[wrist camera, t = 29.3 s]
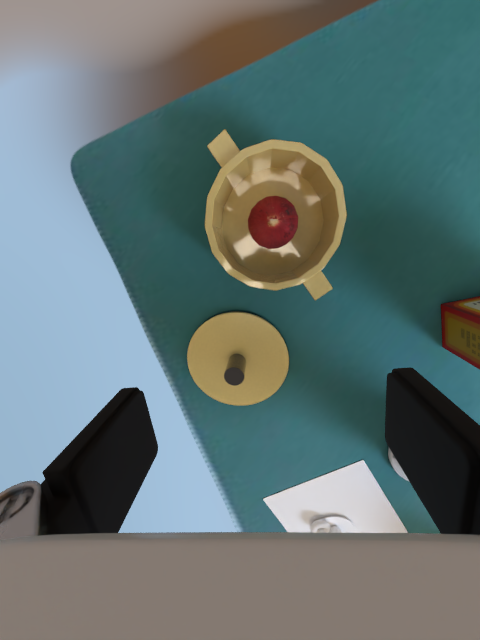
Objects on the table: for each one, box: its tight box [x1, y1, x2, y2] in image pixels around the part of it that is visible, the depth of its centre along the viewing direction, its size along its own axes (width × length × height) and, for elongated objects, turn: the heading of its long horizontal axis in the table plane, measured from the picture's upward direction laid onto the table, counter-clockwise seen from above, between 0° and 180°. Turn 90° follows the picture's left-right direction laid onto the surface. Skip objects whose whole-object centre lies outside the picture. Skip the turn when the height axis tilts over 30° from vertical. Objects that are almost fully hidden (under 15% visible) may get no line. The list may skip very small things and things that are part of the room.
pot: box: [205, 129, 347, 300], centre depth 31 cm, size 15×20×8 cm
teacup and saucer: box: [309, 515, 357, 533], centre depth 47 cm, size 9×8×4 cm
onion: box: [248, 196, 298, 249], centre depth 30 cm, size 6×6×8 cm
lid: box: [187, 312, 289, 405], centre depth 38 cm, size 16×16×6 cm
